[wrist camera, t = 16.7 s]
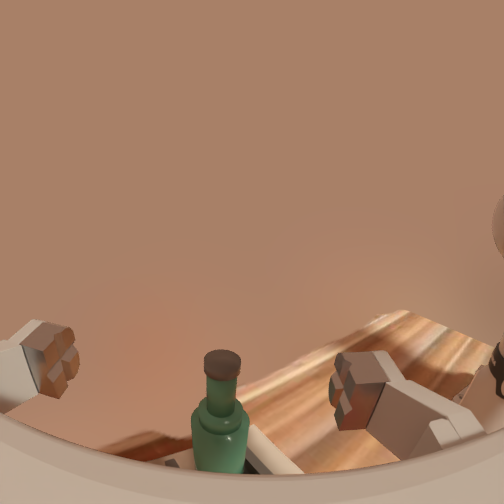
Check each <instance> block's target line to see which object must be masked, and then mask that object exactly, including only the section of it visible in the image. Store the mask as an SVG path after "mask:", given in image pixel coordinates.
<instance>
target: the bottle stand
mask: <svg viewBox="0 0 504 504" xmlns="http://www.w3.org/2000/svg"><path fill="white" fill-rule="evenodd" d="M147 463H152V464H157V465H163V466H169V467H175V468H182V469H190V470H195V466H194V454H193V448H190V449H187V450H184V451H181V452H178V453H175V454H172V455H168V456H165V457H161V458H158V459H154V460H151V461H147ZM243 474H257V475H283V474H305V473H304V472H303V471H302V470H301V469H299V468H298V467H297V466H296V465H295V464H294V463H293V462H292V461H291V460H290V459H289V458H288V457H287V456H286V455H285V454H283V453H282V452H281V451H280V450H279V449H278V448H277V447H276V446H275V445H274V444H273V443H272V442H271V441H270V440H269V439H268V438H267V437H266V436H265V435H264V434H263V433H262V432H261V431H260V430H259V429H258V428H257V427H256V426H255V425H251V426H249V431H248V439H247V447H246V455H245V462H244V470H243Z"/></svg>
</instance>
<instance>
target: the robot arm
mask: <svg viewBox="0 0 504 504" xmlns="http://www.w3.org/2000/svg"><path fill="white" fill-rule="evenodd" d="M492 231H493V237H494V241H495V244H496V246H497V248H498V250H499V252H500V253H501V255H502V256H503V258H504V196H503V197H502V198H501V199H500V200H499V202H498V204H497V206H496V208H495V211H494V214H493V220H492ZM74 341H75V337H74V333H73V330H72V329H71V328H70V327H66V326H61V325H57V324H54V323H49V322H45V321H41V320H37V319H32V320H31V321H30V322H29V323H27V324H26V325H25V326H24V327H23V328H22V329H20V330H19V331H18V332H17V333H16V334H14V335H13V336H12V337H11V338H10V339H9V340H8V341H7V340H2V341H0V504H504V334H503V336H502V339H501V341H500V342H499V343H498V344H497V346H496V348H495V349H494V351H493V353H492V355H491V358H490V361H489V364H488V365H486V366H483V365H481V366H480V367H479V368H478V370H477V371H476V373H475V376H474V378H473V380H472V381H471V383H470V384H469V385H468V386H467V387H465V388H464V389H463V390H462V391H460V392H459V393H458V394H457V395H455V396H454V397H453V399H452V400H449V399H447V398H445V397H443V396H441V395H439V394H437V393H435V392H433V391H431V390H429V389H427V388H425V387H423V386H421V385H419V384H417V383H415V382H414V381H412V380H406V379H405V378H404V376H403V375H402V373H401V372H400V370H399V369H398V367H397V366H396V364H395V363H394V361H393V360H392V358H391V357H390V355H389V354H388V352H387V351H385V350H379V351H369V352H349V353H338V354H337V356H336V359H335V363H334V365H335V368H336V370H337V371H336V372H335V373H334V374H333V375H331V378H330V382H329V400H330V403H331V405H332V406H333V407H334V408H336V411H335V414H334V416H335V420H336V423H337V426H338V429H339V431H343V430H357V429H366V431H368V432H369V433H370V434H371V435H372V436H373V437H374V438H376V439H377V440H378V441H379V442H380V443H381V444H383V445H384V446H385V447H386V448H387V449H388V450H390V451H391V452H392V453H393V454H394V455H395V456H397V457H398V458H399V459H400V460H401V461H397V462H392V463H387V464H382V465H376V466H370V467H364V468H357V469H350V470H342V471H333V472H322V473H308V474H283V475H257V474H232V473H218V472H207V471H198V470H190V469H182V468H175V467H169V466H163V465H157V464H152V463H147V462H142V461H137V460H133V459H128V458H124V457H120V456H116V455H112V454H108V453H105V452H101V451H98V450H94V449H91V448H87V447H84V446H81V445H78V444H75V443H72V442H69V441H66V440H63V439H60V438H58V437H55V436H53V435H50V434H47V433H45V432H42V431H40V430H37V429H35V428H33V427H30V426H28V425H26V424H23V423H21V422H19V421H17V420H15V419H12V418H11V417H9V416H6V415H4V414H5V413H7V412H8V411H10V410H12V409H13V408H15V407H17V406H18V405H20V404H22V403H24V402H25V401H27V400H29V399H31V398H33V397H34V396H36V395H38V393H41V394H44V395H47V396H50V397H54V398H57V399H59V398H60V397H61V396H62V394H63V393H64V391H65V390H66V389H67V387H68V384H67V381H69V380H71V379H73V378H74V377H75V376H76V374H77V373H78V369H79V365H80V362H79V354H78V351H77V350H76V348H75V347H74V346H73V343H74Z"/></svg>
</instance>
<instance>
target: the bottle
mask: <svg viewBox="0 0 504 504" xmlns="http://www.w3.org/2000/svg"><path fill="white" fill-rule="evenodd" d="M240 366H241V359H240V357H239V356H238V355H237V354H236V353H234V352H232V351H229V350H214V351H211V352H209V353H207V354H206V356H205V357H204V372H205V374H206V375H207V397H205V398H204V399H203V400H202V401H201V402H200V403H199V407H197V408H196V409H195V410H194V412H193V414H192V416H191V428H192V442H193V454H194V466H195V470H198V471H207V472H218V473H232V474H243V470H244V462H245V455H246V447H247V439H248V431H249V423H250V421H249V417H248V415H247V413H246V412H245V411H244V410H243V407H242V405H241V403H240V402H239V401H238V400H237V399H236V385H237V376H238V375H239V374H240Z"/></svg>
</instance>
